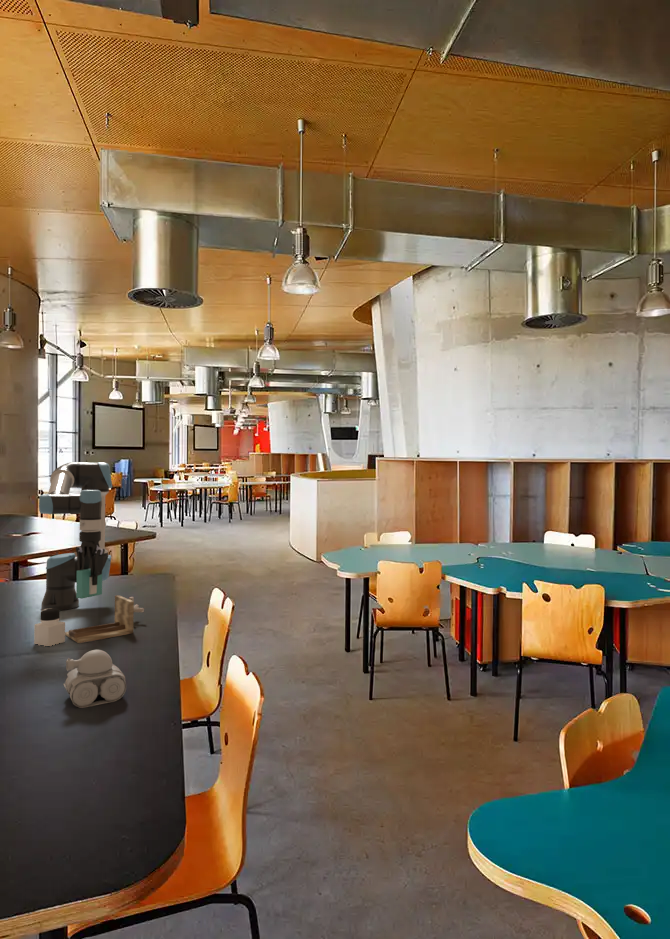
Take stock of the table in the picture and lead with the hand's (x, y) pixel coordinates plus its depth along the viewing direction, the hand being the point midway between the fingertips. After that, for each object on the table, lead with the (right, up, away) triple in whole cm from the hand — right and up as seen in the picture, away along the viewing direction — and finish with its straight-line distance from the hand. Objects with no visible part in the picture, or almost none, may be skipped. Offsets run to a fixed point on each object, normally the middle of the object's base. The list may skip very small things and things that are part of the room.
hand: (89, 593), depth 218 cm
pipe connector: (+10, -15, +16) cm, 24 cm away
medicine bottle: (-8, -15, -14) cm, 22 cm away
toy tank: (+28, -15, -62) cm, 70 cm away
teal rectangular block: (0, -1, 0) cm, 1 cm away
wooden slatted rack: (+4, -15, -2) cm, 16 cm away
